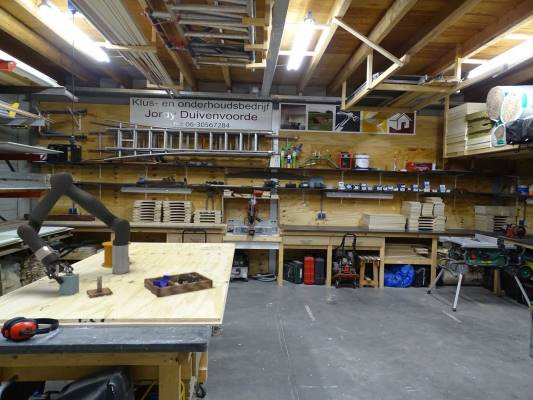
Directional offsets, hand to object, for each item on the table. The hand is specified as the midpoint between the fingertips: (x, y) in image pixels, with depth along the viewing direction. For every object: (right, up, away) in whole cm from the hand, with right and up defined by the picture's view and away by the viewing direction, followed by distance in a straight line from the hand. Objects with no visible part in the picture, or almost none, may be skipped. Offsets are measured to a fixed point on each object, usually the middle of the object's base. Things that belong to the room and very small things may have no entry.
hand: (68, 281), depth 170 cm
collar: (0, -6, 0) cm, 6 cm away
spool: (-4, -4, +62) cm, 62 cm away
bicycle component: (+57, -7, +18) cm, 60 cm away
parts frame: (+50, -6, +14) cm, 52 cm away
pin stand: (+15, -6, 0) cm, 17 cm away
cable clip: (+43, -7, +8) cm, 44 cm away
